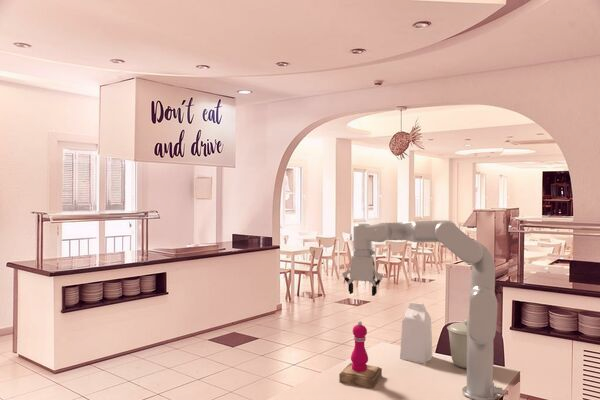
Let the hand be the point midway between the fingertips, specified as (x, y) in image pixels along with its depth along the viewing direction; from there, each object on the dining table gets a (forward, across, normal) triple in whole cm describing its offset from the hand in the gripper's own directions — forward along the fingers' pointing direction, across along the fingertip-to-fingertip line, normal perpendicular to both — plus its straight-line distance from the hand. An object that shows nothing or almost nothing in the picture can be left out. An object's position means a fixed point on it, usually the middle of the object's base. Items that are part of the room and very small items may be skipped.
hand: (362, 294), depth 194 cm
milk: (+36, -15, -37) cm, 54 cm away
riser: (+35, +1, 0) cm, 35 cm away
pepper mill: (+32, +1, 0) cm, 32 cm away
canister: (+36, -38, -37) cm, 64 cm away
